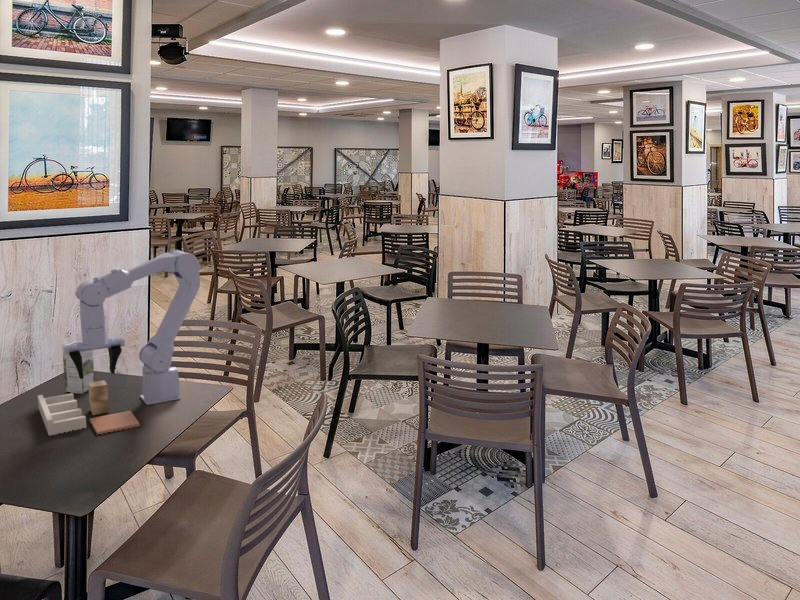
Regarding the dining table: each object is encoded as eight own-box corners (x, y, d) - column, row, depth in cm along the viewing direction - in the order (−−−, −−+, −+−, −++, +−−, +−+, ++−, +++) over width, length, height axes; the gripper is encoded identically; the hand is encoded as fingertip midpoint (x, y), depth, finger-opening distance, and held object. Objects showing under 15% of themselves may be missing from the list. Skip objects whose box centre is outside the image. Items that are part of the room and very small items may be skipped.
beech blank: (106, 407, 163) (104, 380, 161) (109, 412, 160) (107, 384, 158) (90, 410, 161) (88, 382, 159) (93, 415, 157) (90, 387, 156)
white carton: (78, 386, 178) (74, 340, 175) (96, 387, 177) (92, 341, 174) (65, 392, 172) (60, 345, 170) (83, 394, 172) (79, 347, 169)
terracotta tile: (130, 413, 159) (130, 410, 159) (139, 426, 152) (139, 423, 152) (89, 421, 154) (89, 418, 153) (97, 435, 146) (97, 432, 146)
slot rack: (73, 403, 165) (72, 389, 164) (86, 427, 150) (85, 413, 149) (38, 409, 160) (37, 395, 159) (48, 435, 145) (47, 420, 144)
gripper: (118, 320, 163) (122, 366, 166) (59, 326, 154) (64, 375, 157) (125, 325, 157) (128, 373, 160) (64, 332, 149) (68, 383, 151)
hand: (97, 375), depth 158 cm, fingers open, 7 cm apart
